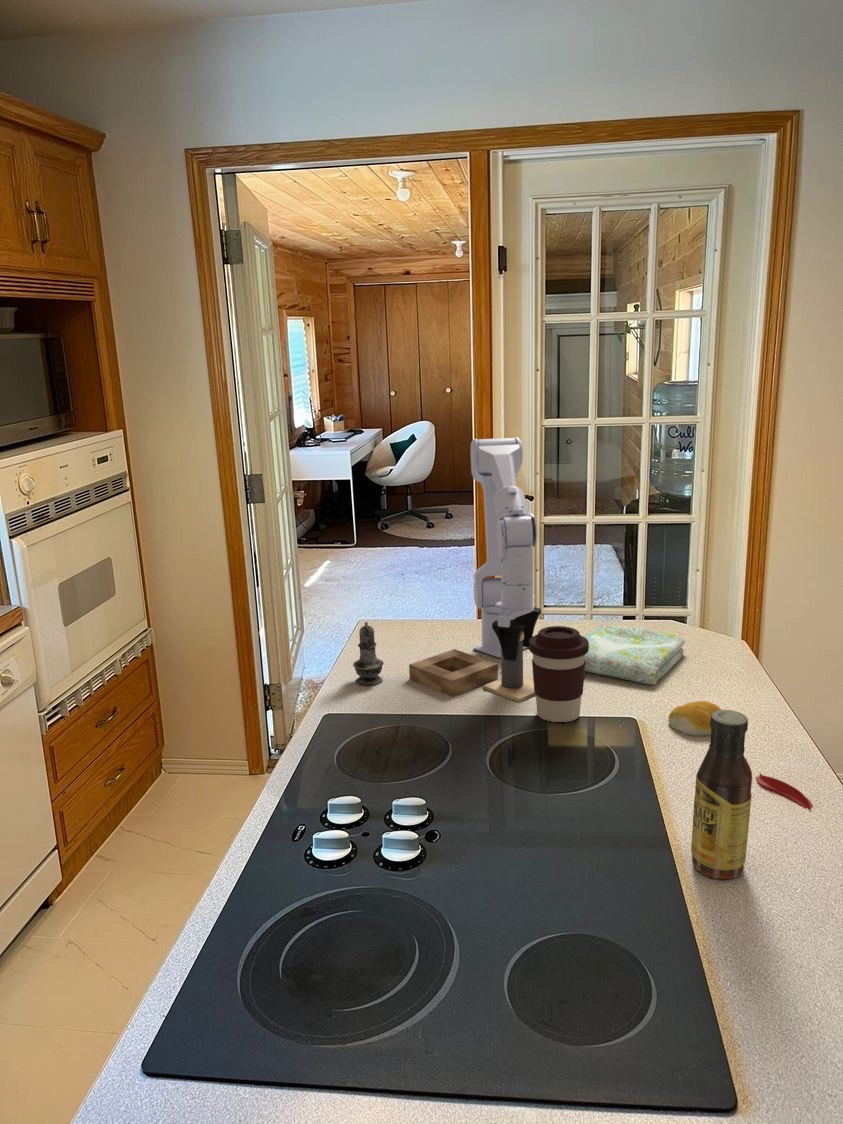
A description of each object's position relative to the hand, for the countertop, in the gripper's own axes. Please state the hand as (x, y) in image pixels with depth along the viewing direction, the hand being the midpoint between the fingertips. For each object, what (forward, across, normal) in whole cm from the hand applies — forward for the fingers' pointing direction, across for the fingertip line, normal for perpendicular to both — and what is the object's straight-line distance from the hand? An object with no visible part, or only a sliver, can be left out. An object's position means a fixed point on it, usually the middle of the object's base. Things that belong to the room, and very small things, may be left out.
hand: (517, 652), depth 157 cm
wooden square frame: (+7, 0, -13) cm, 15 cm away
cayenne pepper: (+7, +22, +47) cm, 52 cm away
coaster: (+7, 0, 0) cm, 7 cm away
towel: (+8, -21, +15) cm, 27 cm away
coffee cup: (+7, +9, +10) cm, 15 cm away
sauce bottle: (+7, +44, +41) cm, 61 cm away
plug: (+6, 0, -1) cm, 6 cm away
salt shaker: (+7, +7, -28) cm, 29 cm away
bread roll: (+7, +4, +33) cm, 34 cm away
